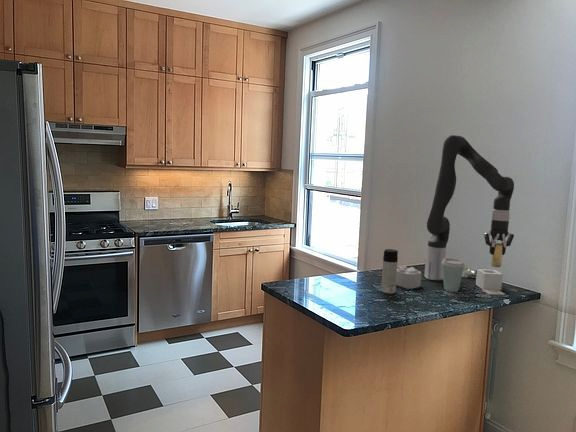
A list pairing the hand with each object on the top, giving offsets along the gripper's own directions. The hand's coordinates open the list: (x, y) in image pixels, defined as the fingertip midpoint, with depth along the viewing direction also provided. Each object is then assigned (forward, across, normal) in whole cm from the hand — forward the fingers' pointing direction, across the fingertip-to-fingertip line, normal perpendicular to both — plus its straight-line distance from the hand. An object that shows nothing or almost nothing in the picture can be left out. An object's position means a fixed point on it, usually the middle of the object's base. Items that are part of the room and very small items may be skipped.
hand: (497, 254), depth 228 cm
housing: (+19, -2, -10) cm, 21 cm away
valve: (+19, +1, -27) cm, 33 cm away
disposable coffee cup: (+19, +20, -2) cm, 28 cm away
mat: (+19, 0, 0) cm, 19 cm away
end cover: (+6, 0, 0) cm, 6 cm away
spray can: (+19, +52, +4) cm, 56 cm away
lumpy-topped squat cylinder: (+19, +40, -10) cm, 45 cm away
